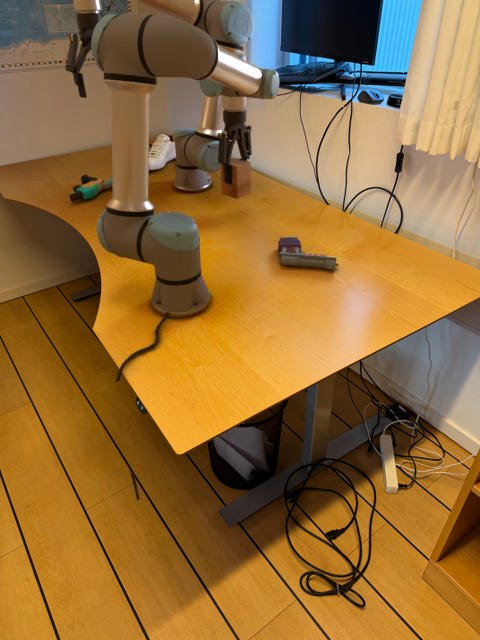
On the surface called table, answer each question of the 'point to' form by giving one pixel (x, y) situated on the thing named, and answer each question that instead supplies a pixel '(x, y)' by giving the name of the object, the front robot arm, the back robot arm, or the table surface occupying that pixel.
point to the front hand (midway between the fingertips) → (235, 180)
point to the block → (237, 179)
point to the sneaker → (162, 151)
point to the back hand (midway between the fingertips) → (102, 93)
